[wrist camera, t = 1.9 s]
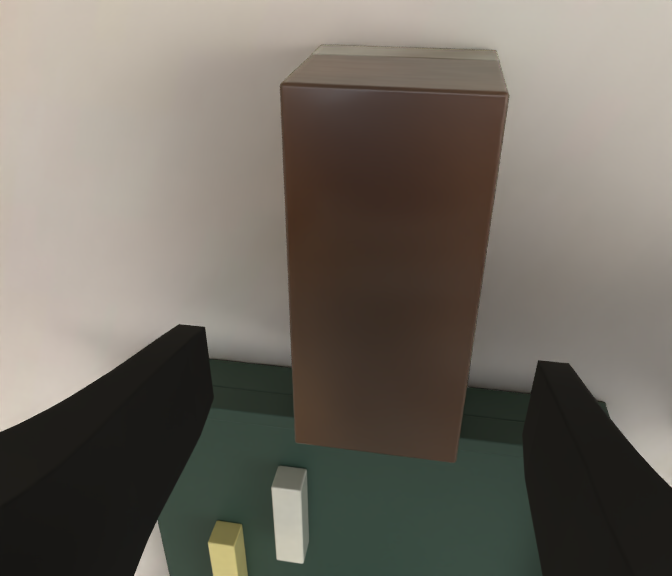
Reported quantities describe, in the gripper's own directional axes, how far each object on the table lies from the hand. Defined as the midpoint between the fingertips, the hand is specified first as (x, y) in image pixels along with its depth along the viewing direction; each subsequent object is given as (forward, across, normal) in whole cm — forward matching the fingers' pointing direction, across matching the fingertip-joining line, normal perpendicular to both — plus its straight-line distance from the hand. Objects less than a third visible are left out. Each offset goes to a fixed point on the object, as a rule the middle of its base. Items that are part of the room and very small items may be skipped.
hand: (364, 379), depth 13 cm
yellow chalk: (+7, +6, +16) cm, 19 cm away
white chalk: (+7, +4, +12) cm, 15 cm away
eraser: (+8, 0, 0) cm, 8 cm away
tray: (+8, +1, +14) cm, 17 cm away
